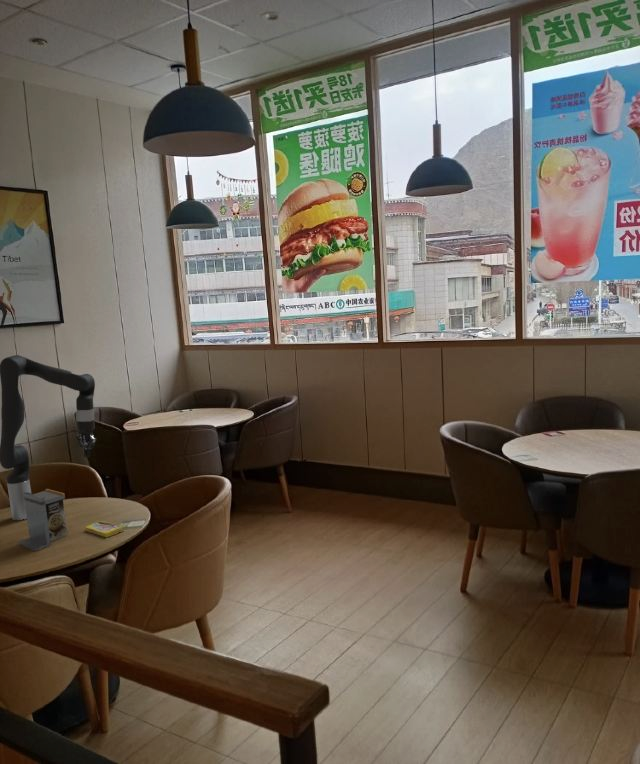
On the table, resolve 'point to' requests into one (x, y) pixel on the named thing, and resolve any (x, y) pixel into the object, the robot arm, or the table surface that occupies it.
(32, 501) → the grey metal stand
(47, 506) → the coffee box
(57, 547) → the table surface
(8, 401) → the robot arm
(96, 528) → the candy box
